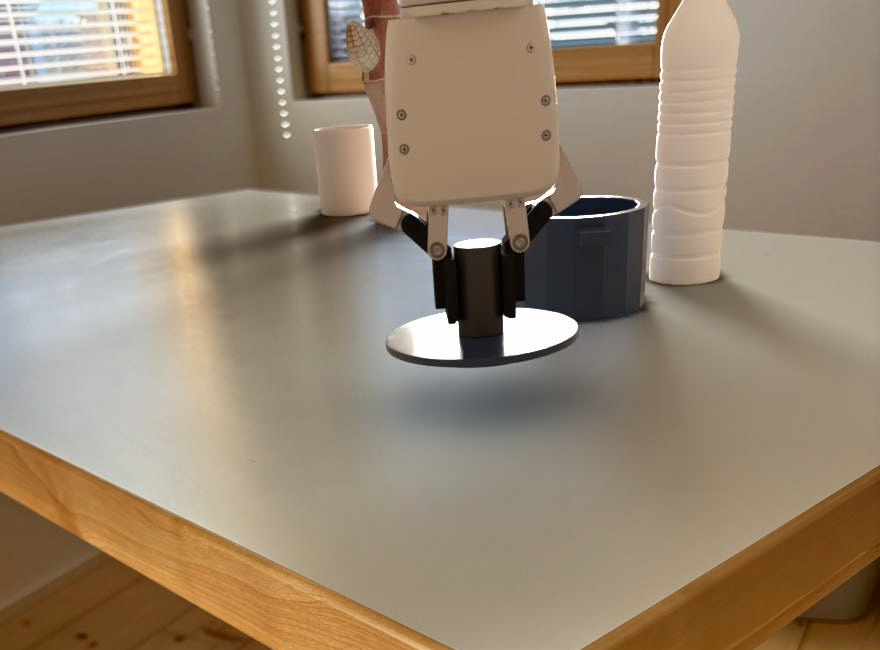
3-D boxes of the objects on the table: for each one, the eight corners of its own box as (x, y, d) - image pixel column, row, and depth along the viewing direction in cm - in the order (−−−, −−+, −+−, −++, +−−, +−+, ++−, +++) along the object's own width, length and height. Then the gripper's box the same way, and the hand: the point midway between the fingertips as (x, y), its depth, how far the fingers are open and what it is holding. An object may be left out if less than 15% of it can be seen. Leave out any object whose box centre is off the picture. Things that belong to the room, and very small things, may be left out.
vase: (421, 213, 143) (407, -44, 128) (442, 220, 137) (430, -50, 122) (350, 223, 140) (327, -40, 125) (368, 230, 134) (346, -45, 119)
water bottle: (716, 288, 94) (743, -38, 81) (643, 287, 96) (659, -30, 84) (724, 268, 101) (750, -35, 88) (656, 268, 103) (673, -28, 91)
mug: (387, 211, 147) (381, 126, 141) (329, 218, 145) (321, 132, 139) (362, 202, 157) (356, 121, 151) (308, 208, 155) (300, 127, 149)
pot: (621, 283, 98) (625, 187, 94) (664, 328, 84) (671, 217, 79) (500, 292, 99) (498, 197, 94) (522, 338, 84) (521, 228, 80)
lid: (562, 316, 73) (561, 217, 70) (594, 366, 62) (596, 252, 59) (386, 332, 74) (376, 235, 70) (388, 385, 63) (377, 273, 59)
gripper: (598, -29, 60) (595, 292, 70) (322, -1, 61) (355, 314, 70) (625, -36, 54) (617, 319, 63) (316, -4, 54) (354, 343, 64)
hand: (480, 314), depth 67 cm, fingers closed on lid, 3 cm apart
